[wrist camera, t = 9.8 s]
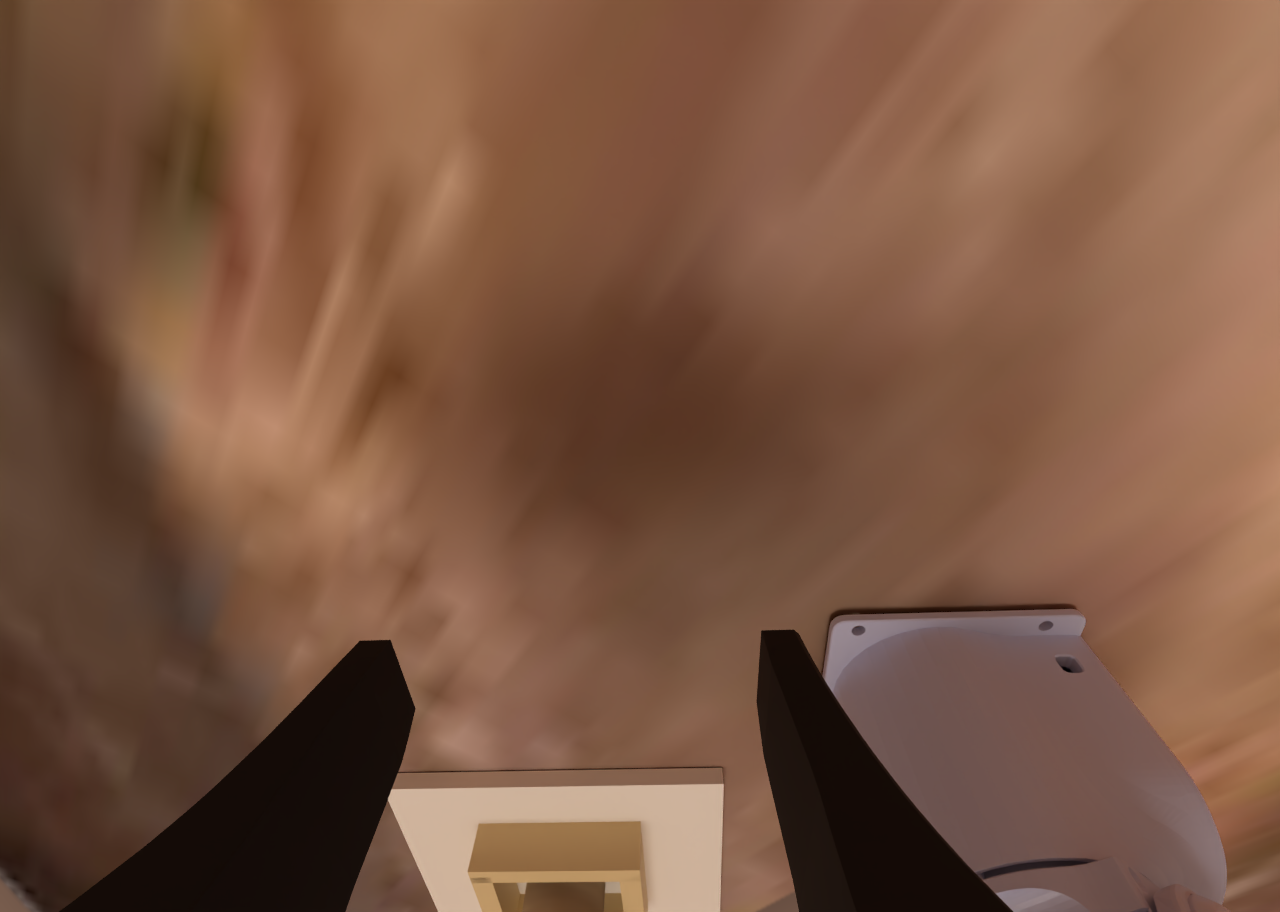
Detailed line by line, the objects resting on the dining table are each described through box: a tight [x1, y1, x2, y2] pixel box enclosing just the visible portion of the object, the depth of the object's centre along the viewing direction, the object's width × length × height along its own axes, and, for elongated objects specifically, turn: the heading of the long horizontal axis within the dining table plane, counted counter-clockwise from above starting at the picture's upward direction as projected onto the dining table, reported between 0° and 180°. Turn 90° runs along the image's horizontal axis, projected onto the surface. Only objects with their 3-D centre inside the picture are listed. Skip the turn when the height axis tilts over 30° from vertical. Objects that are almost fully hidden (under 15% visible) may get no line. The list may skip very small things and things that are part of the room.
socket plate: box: [388, 768, 724, 912], centre depth 32 cm, size 16×14×3 cm
